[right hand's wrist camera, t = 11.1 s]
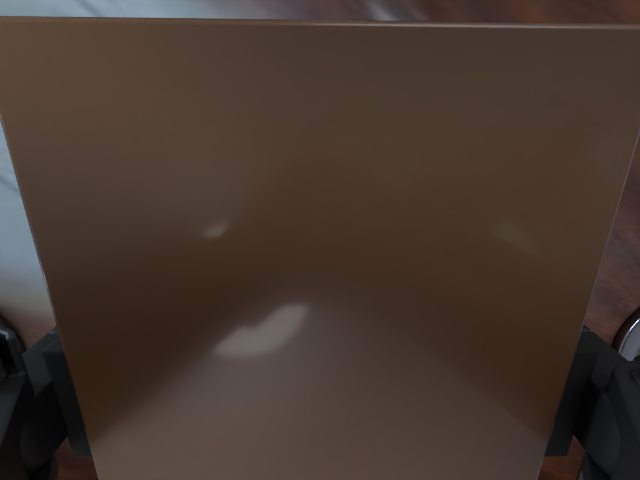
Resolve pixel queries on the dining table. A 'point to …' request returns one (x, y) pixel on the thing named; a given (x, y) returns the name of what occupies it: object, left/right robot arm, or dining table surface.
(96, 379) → the wide beam
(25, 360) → the right robot arm
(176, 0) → the dining table surface
